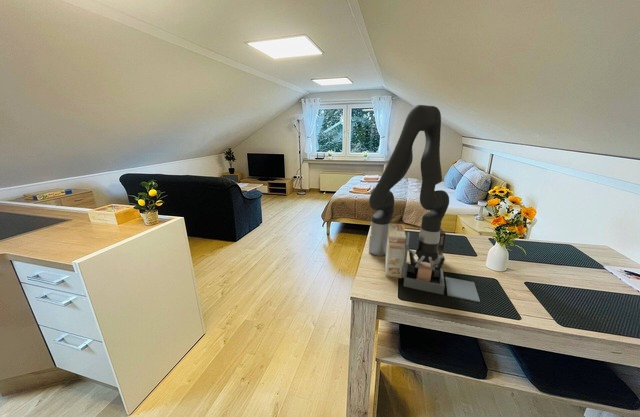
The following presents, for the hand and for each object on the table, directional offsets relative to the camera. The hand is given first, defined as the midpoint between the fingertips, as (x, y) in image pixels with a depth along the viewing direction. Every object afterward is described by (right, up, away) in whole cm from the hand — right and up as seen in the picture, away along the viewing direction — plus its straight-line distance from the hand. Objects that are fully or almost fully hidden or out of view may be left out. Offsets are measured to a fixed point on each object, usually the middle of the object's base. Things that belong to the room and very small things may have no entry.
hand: (423, 275), depth 105 cm
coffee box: (+10, +2, +17) cm, 20 cm away
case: (0, -3, +1) cm, 3 cm away
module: (0, -3, +1) cm, 3 cm away
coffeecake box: (-10, 0, +11) cm, 15 cm away
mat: (+13, -4, -4) cm, 15 cm away
